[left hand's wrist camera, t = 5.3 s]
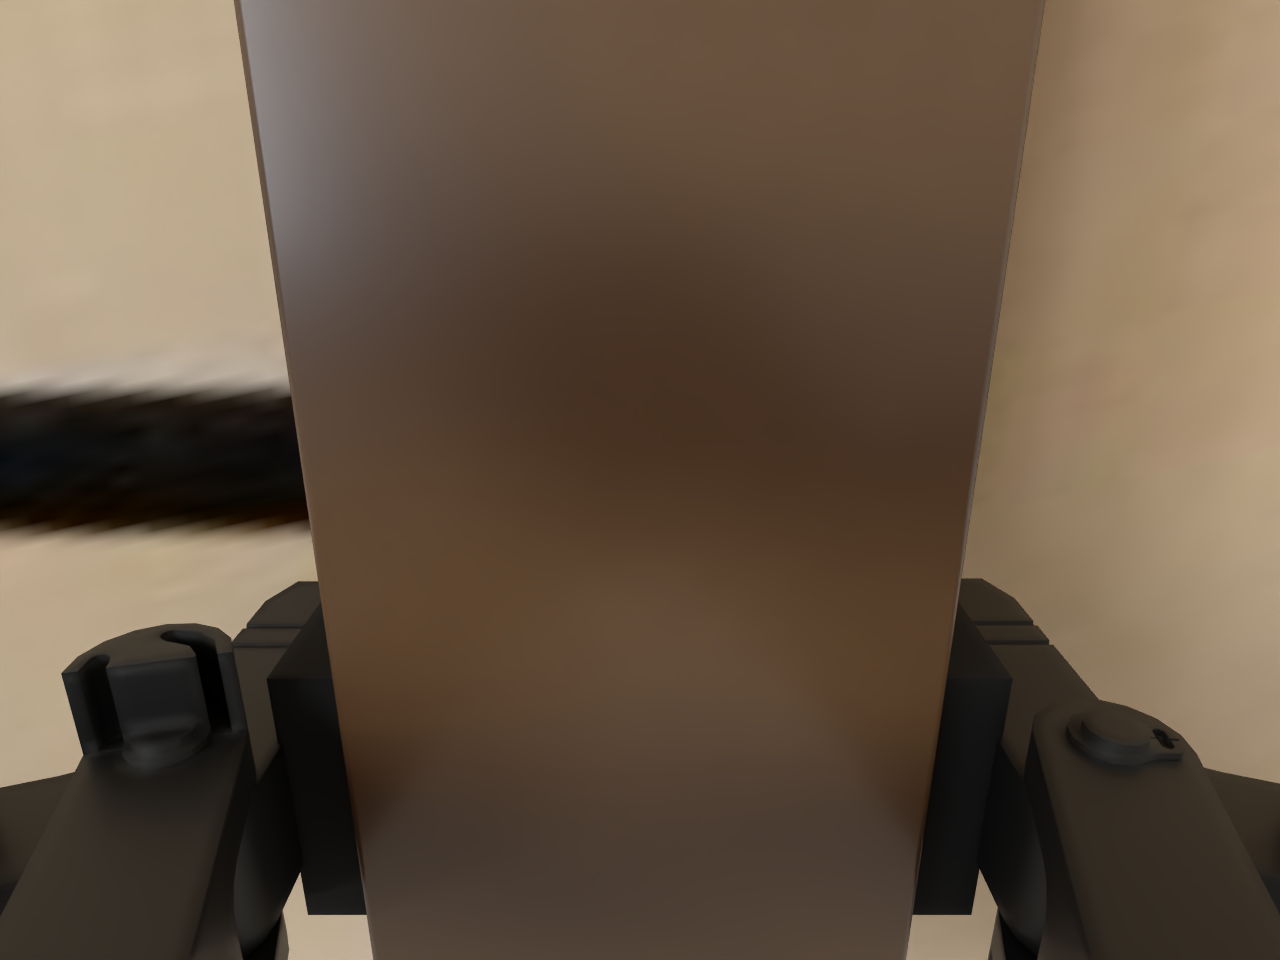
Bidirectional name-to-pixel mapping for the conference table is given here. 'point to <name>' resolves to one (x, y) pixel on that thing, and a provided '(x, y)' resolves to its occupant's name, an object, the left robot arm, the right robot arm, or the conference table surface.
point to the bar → (639, 446)
